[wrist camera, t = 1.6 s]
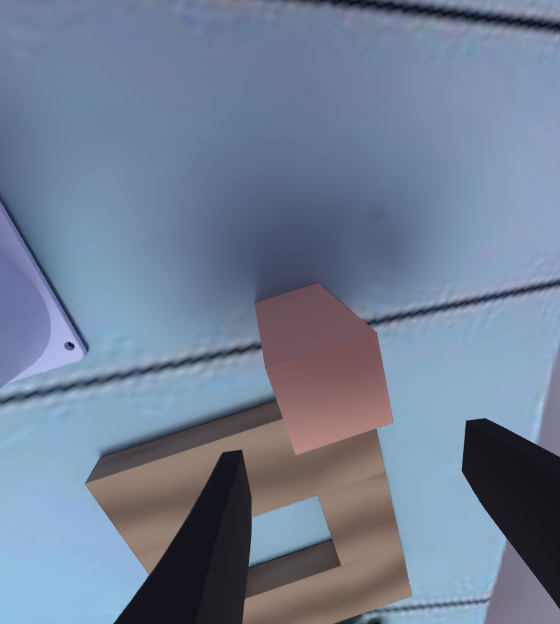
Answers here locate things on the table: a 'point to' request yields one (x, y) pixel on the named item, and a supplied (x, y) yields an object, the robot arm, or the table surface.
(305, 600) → the jig board
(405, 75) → the table surface
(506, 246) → the table surface
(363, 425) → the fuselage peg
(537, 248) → the table surface
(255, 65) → the table surface
